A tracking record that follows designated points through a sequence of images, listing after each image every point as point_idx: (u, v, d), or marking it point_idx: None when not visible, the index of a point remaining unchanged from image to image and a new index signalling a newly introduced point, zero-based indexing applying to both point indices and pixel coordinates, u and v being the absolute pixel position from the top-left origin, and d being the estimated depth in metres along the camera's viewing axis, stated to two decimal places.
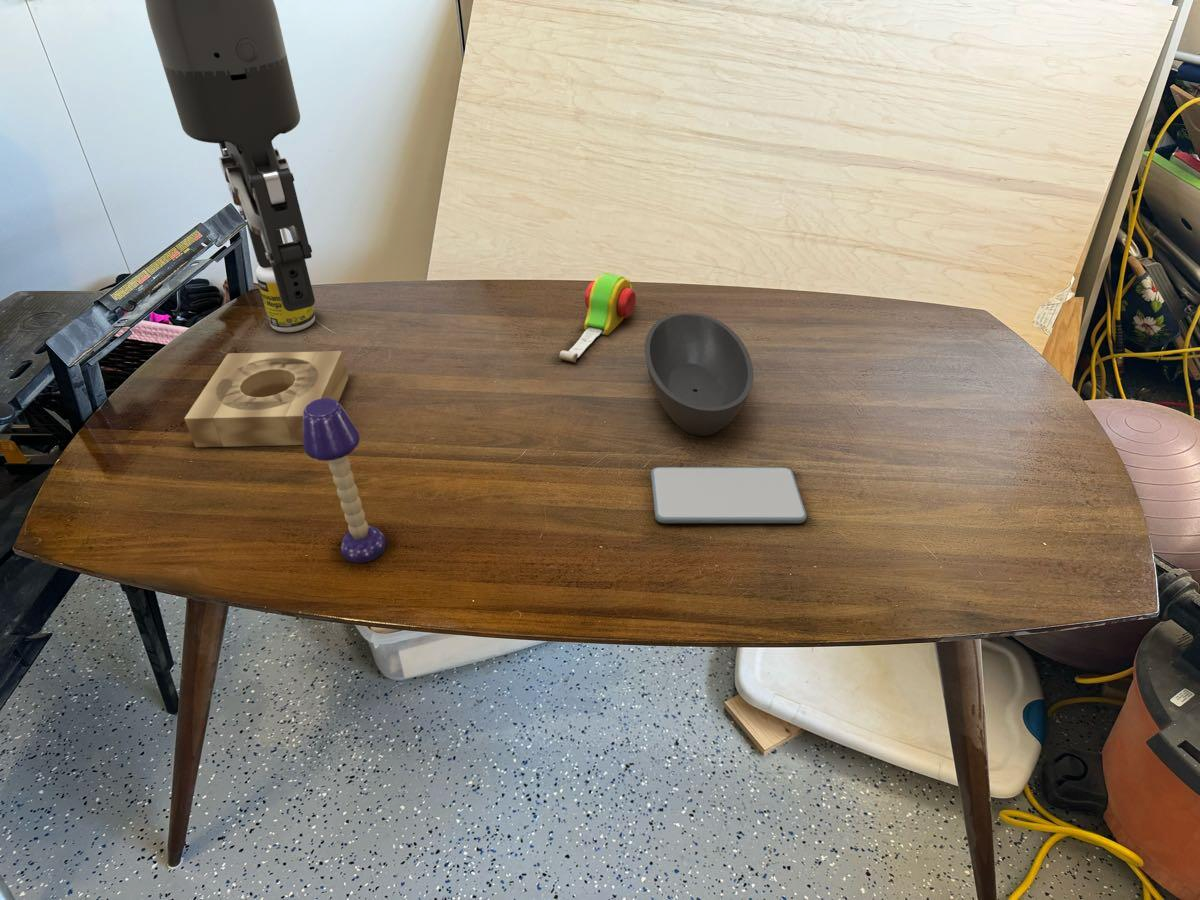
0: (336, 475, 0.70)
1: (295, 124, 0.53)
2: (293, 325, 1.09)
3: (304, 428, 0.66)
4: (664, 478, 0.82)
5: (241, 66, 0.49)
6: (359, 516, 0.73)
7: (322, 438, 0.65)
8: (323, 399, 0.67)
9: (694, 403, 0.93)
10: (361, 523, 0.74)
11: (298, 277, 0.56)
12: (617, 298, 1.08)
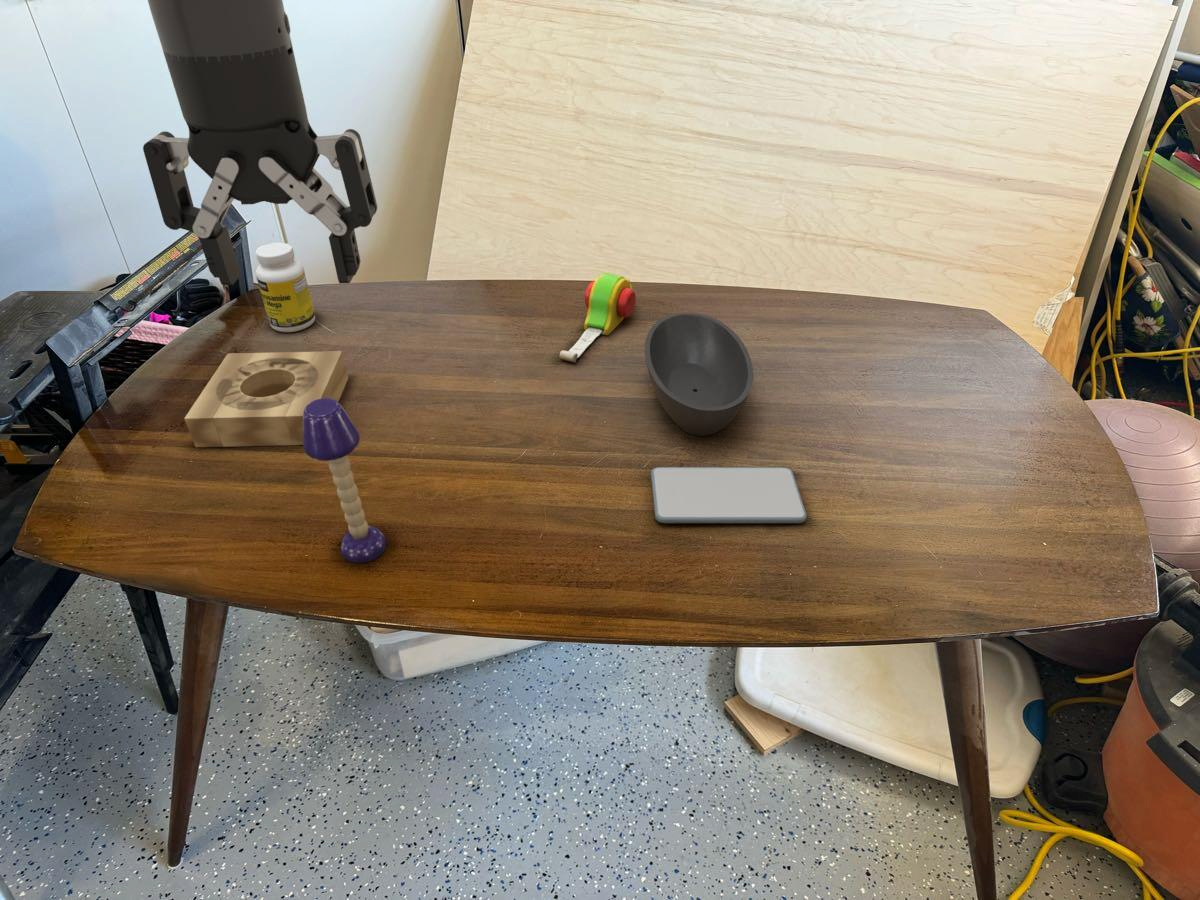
0: (336, 475, 0.70)
1: None
2: (293, 325, 1.09)
3: (304, 428, 0.66)
4: (664, 478, 0.82)
5: (289, 40, 0.50)
6: (359, 516, 0.73)
7: (322, 438, 0.65)
8: (323, 399, 0.67)
9: (694, 403, 0.93)
10: (361, 523, 0.74)
11: (354, 243, 0.58)
12: (617, 298, 1.08)
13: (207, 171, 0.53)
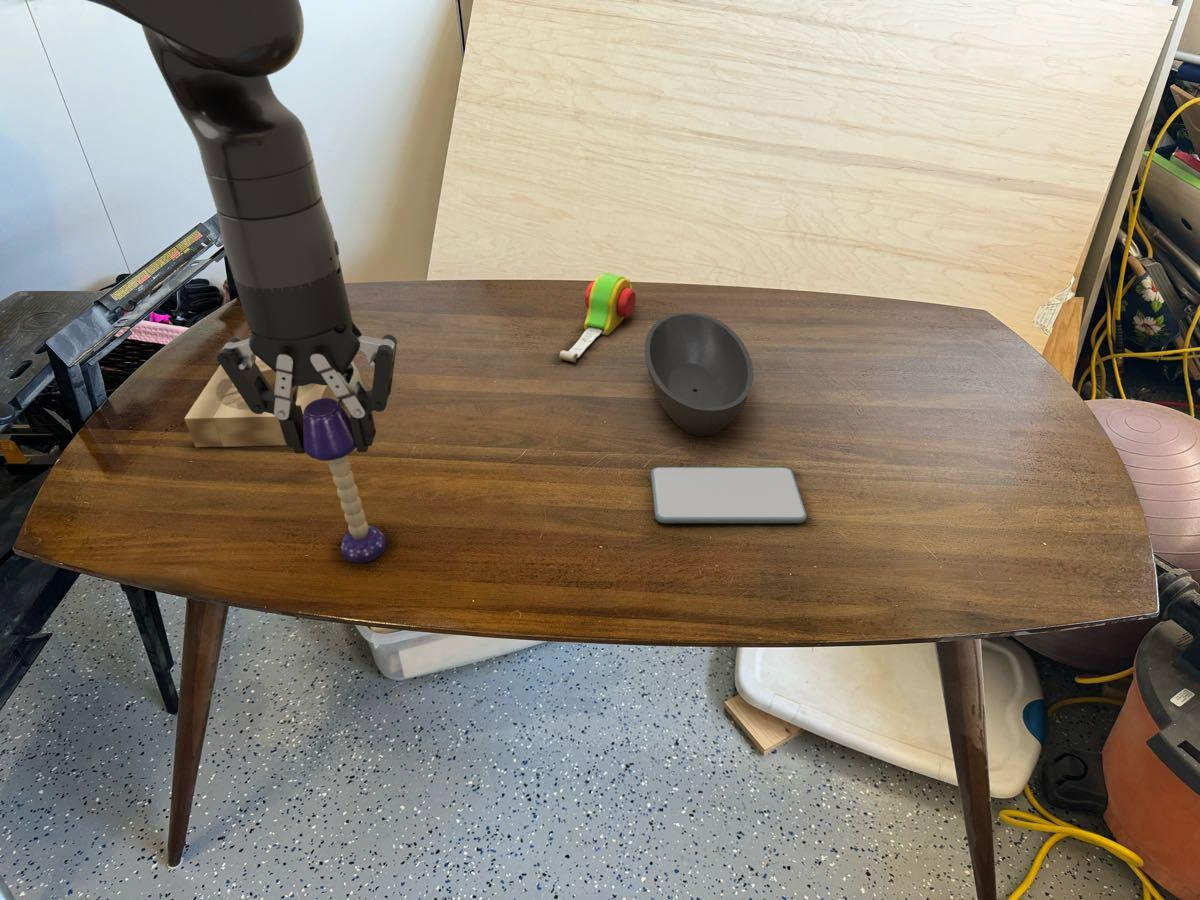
0: (336, 475, 0.70)
1: None
2: None
3: (304, 428, 0.66)
4: (664, 478, 0.82)
5: (338, 261, 0.59)
6: (359, 516, 0.73)
7: (323, 438, 0.65)
8: (323, 399, 0.67)
9: (694, 403, 0.93)
10: (361, 523, 0.74)
11: (371, 419, 0.67)
12: (617, 298, 1.08)
13: (265, 361, 0.62)
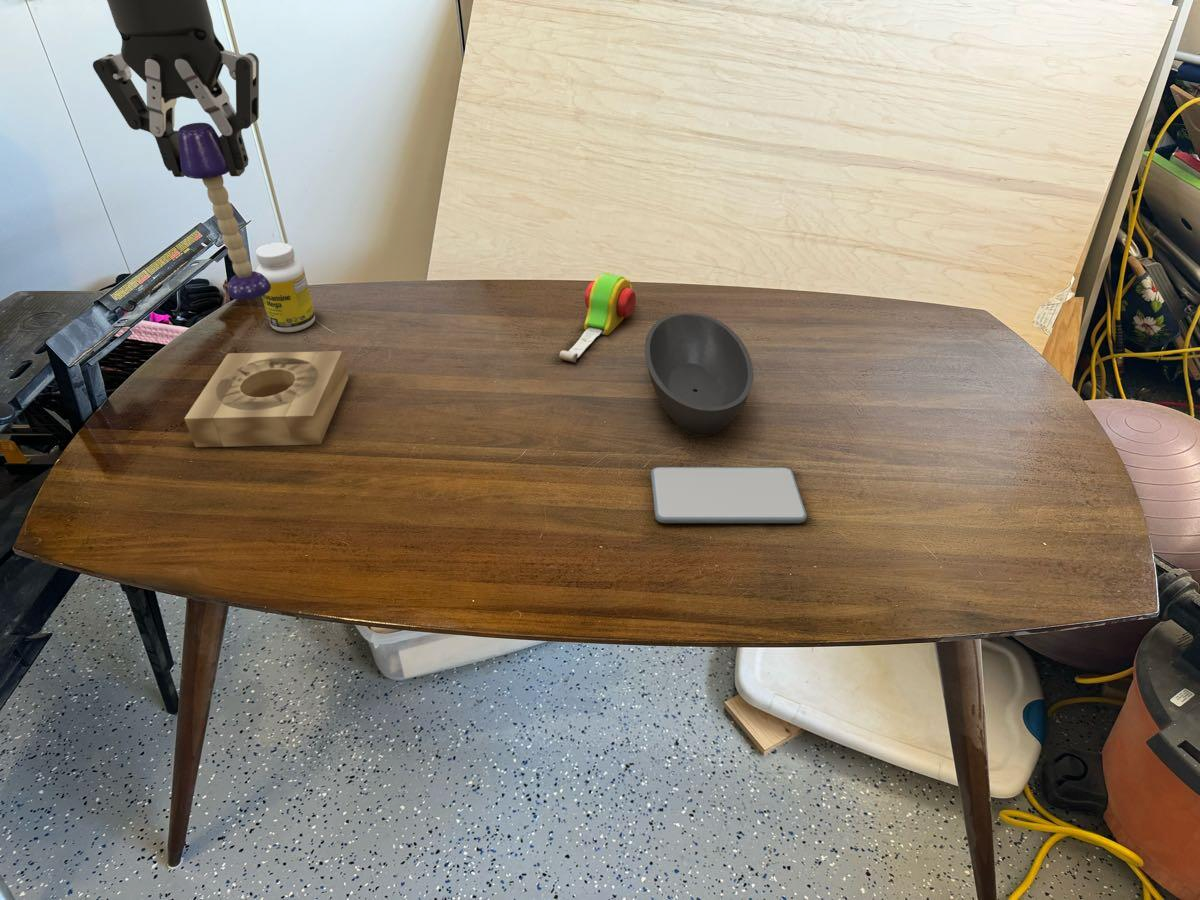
0: (214, 202, 0.76)
1: None
2: (293, 325, 1.09)
3: (179, 146, 0.73)
4: (664, 478, 0.82)
5: None
6: (240, 252, 0.80)
7: (195, 154, 0.72)
8: (198, 123, 0.74)
9: (694, 403, 0.93)
10: (243, 260, 0.81)
11: (241, 144, 0.74)
12: (617, 298, 1.08)
13: (137, 71, 0.69)
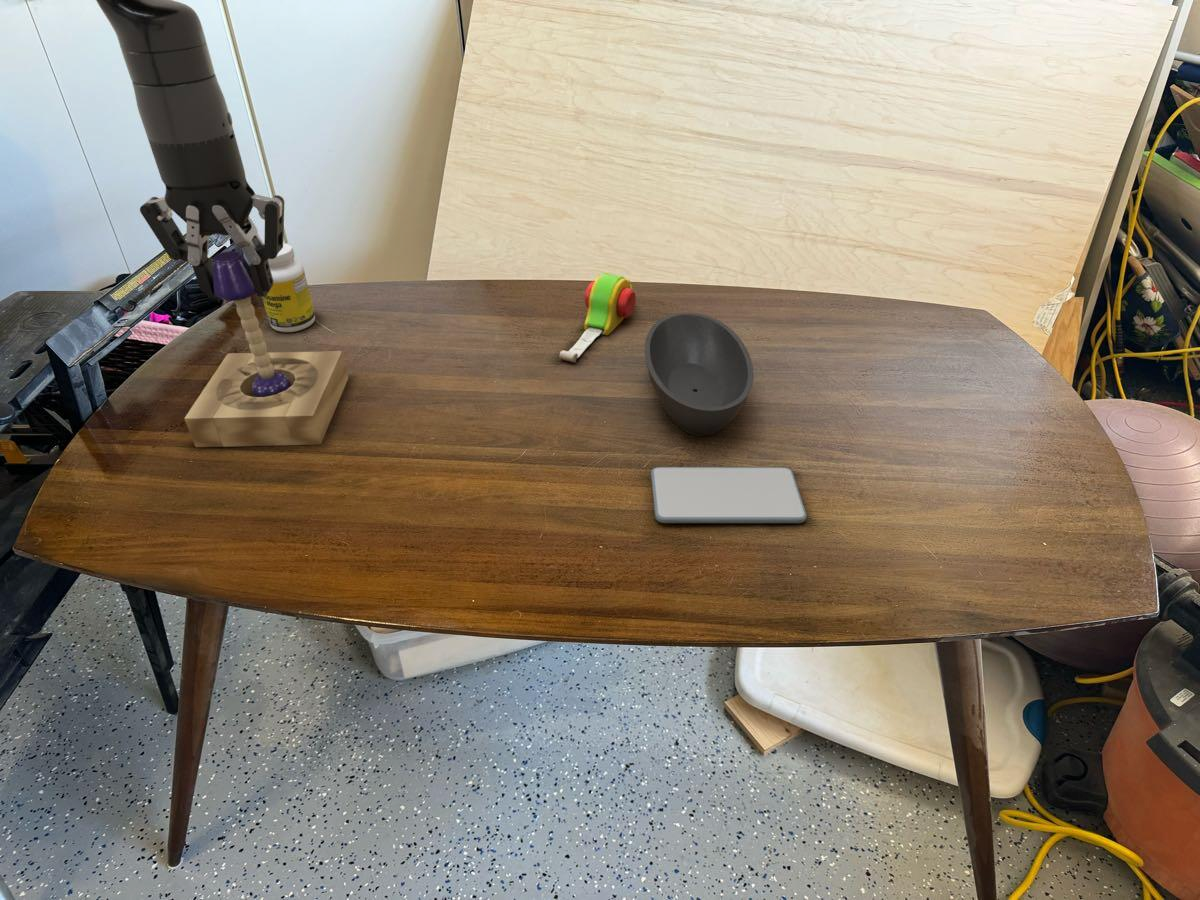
0: (242, 318, 0.86)
1: None
2: (293, 325, 1.09)
3: (213, 273, 0.83)
4: (664, 478, 0.82)
5: (231, 129, 0.76)
6: (265, 357, 0.90)
7: (227, 281, 0.82)
8: (229, 251, 0.83)
9: (694, 403, 0.93)
10: (267, 364, 0.90)
11: (268, 269, 0.84)
12: (617, 298, 1.08)
13: (178, 213, 0.79)
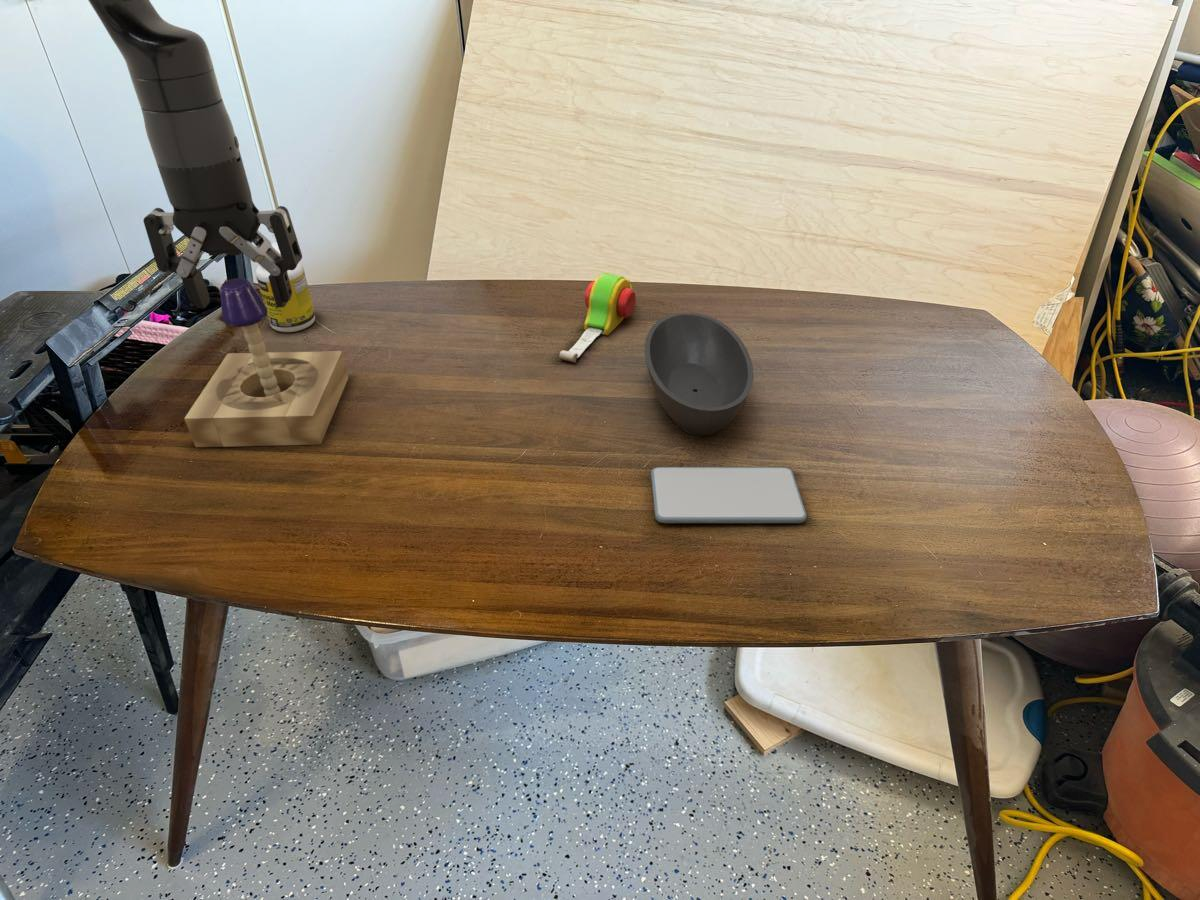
0: (250, 342, 0.88)
1: None
2: (293, 325, 1.09)
3: (221, 300, 0.85)
4: (664, 478, 0.82)
5: (237, 152, 0.77)
6: (271, 380, 0.92)
7: (235, 308, 0.84)
8: (237, 279, 0.85)
9: (694, 403, 0.93)
10: (274, 387, 0.92)
11: (287, 280, 0.85)
12: (617, 298, 1.08)
13: (185, 234, 0.80)
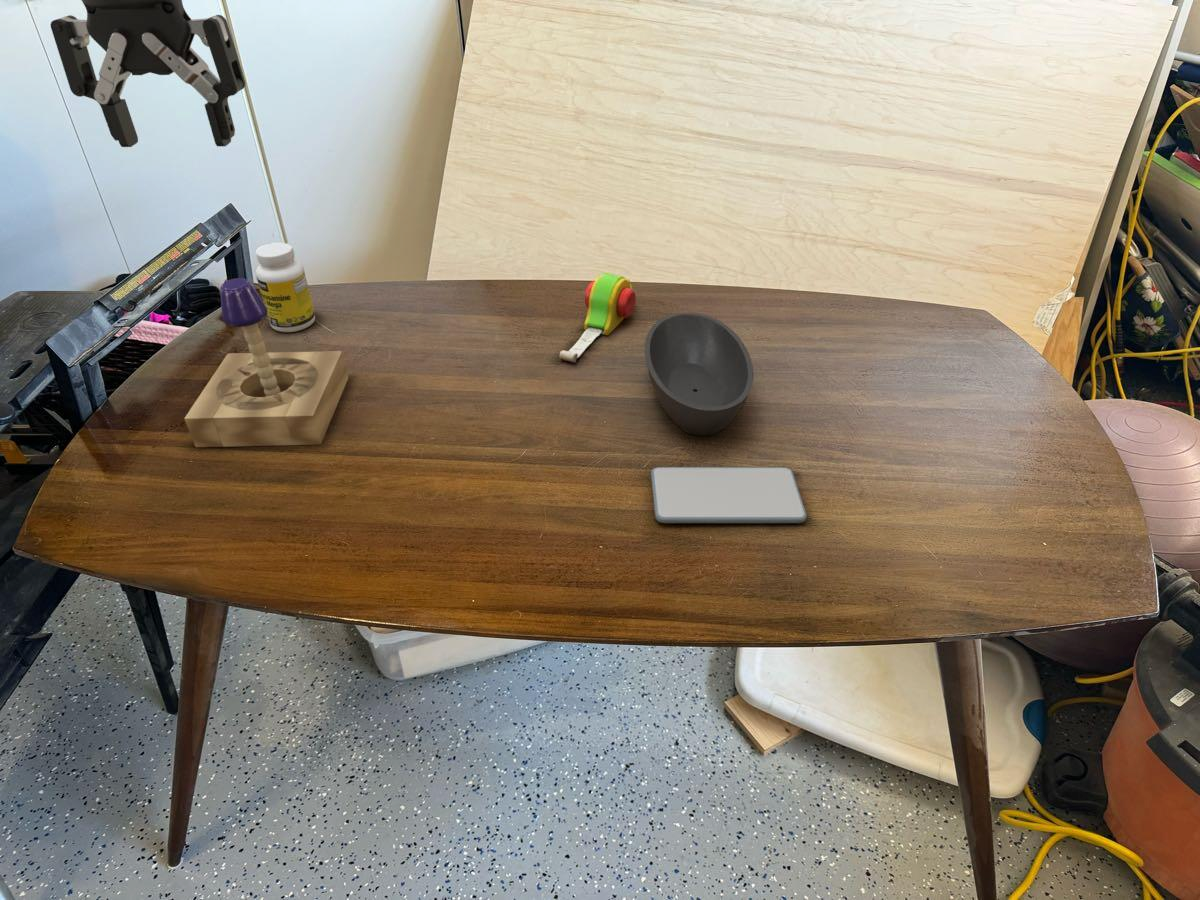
0: (250, 342, 0.88)
1: None
2: (293, 325, 1.09)
3: (221, 300, 0.85)
4: (664, 478, 0.82)
5: None
6: (271, 380, 0.92)
7: (235, 308, 0.84)
8: (237, 279, 0.85)
9: (694, 403, 0.93)
10: (274, 387, 0.92)
11: (228, 112, 0.72)
12: (617, 298, 1.08)
13: (102, 45, 0.67)
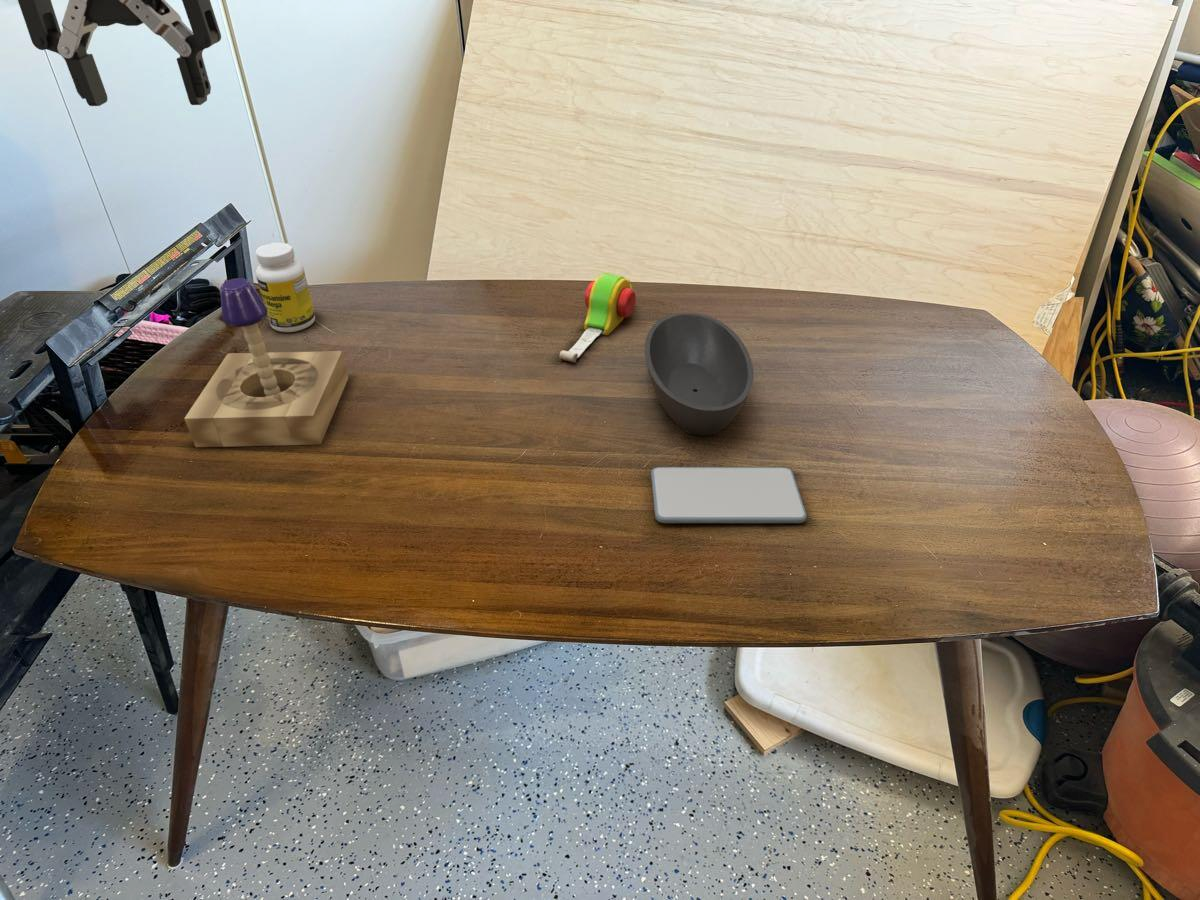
0: (250, 342, 0.88)
1: None
2: (293, 325, 1.09)
3: (221, 300, 0.85)
4: (664, 478, 0.82)
5: None
6: (271, 380, 0.92)
7: (235, 308, 0.84)
8: (237, 279, 0.85)
9: (694, 403, 0.93)
10: (274, 387, 0.92)
11: (202, 68, 0.67)
12: (617, 298, 1.08)
13: None
